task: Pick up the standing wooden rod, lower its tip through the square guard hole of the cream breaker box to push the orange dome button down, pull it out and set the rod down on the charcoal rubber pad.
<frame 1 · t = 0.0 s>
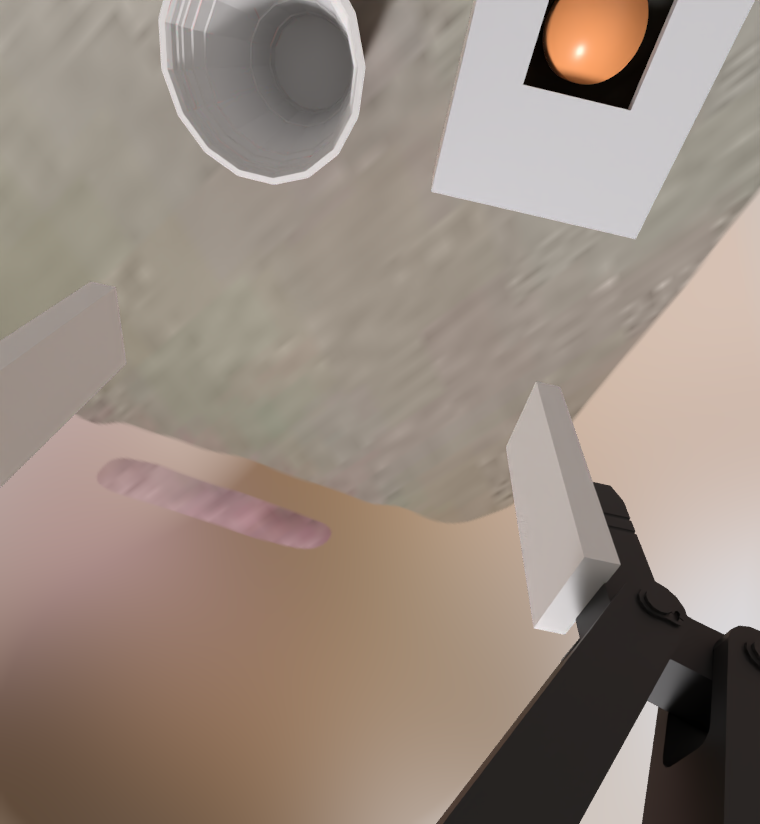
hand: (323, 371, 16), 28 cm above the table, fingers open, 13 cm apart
plastic cup: (310, 63, 35), on the table
orange dome button: (592, 29, 29), point 4 cm above the table, slide at 0.0 cm
breaker box: (578, 31, 32), on the table
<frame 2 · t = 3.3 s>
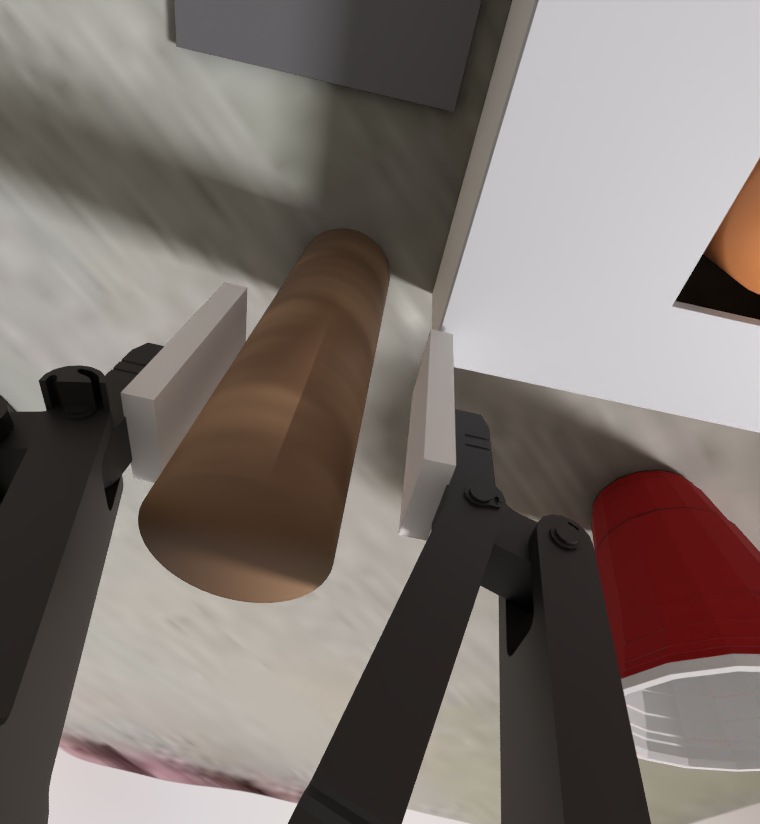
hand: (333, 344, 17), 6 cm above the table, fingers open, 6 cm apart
plastic cup: (639, 505, 29), on the table
wooden rod: (345, 274, 22), on the table
breaker box: (740, 178, 19), on the table
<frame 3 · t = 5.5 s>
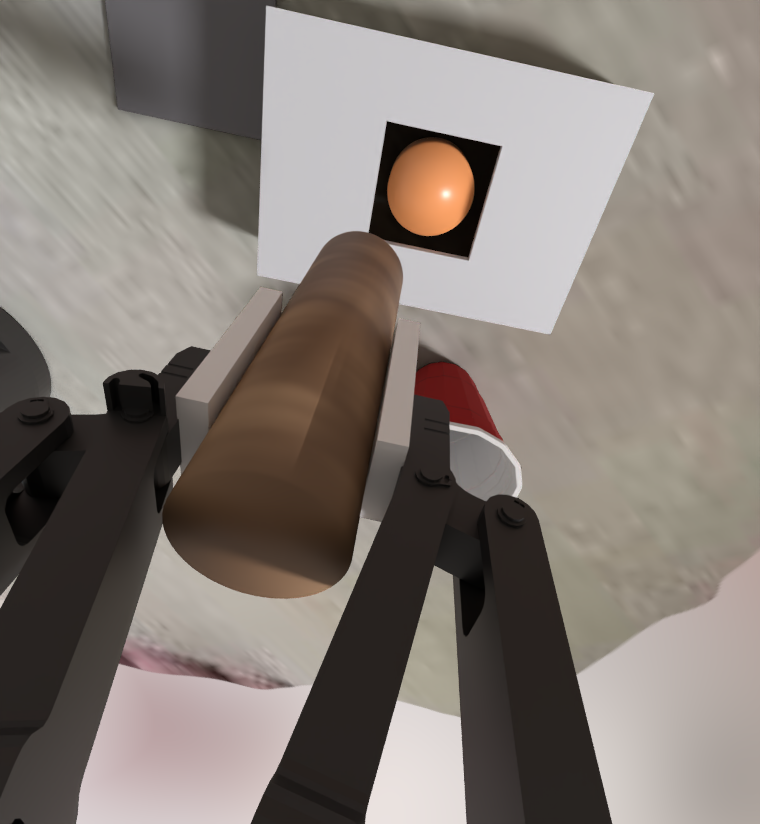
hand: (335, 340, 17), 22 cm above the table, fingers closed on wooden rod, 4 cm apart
plastic cup: (439, 389, 44), on the table
wooden rod: (358, 276, 22), point 16 cm above the table, touching gripper
orange dome button: (430, 187, 31), point 4 cm above the table, slide at 0.0 cm
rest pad: (192, 32, 30), on the table
breaker box: (430, 175, 34), on the table
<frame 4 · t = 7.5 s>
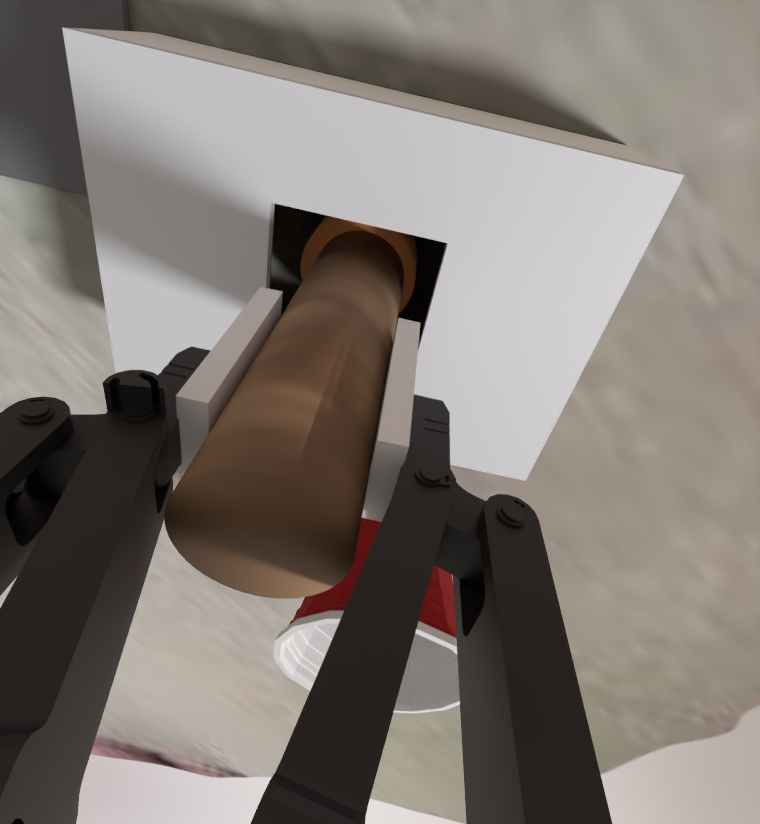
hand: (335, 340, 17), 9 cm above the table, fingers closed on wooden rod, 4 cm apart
plastic cup: (393, 503, 35), on the table
wooden rod: (359, 276, 22), point 3 cm above the table, touching gripper, orange dome button
orange dome button: (361, 265, 23), point 2 cm above the table, slide at 2.2 cm, touching wooden rod
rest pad: (17, 57, 21), on the table
breaker box: (365, 255, 25), on the table
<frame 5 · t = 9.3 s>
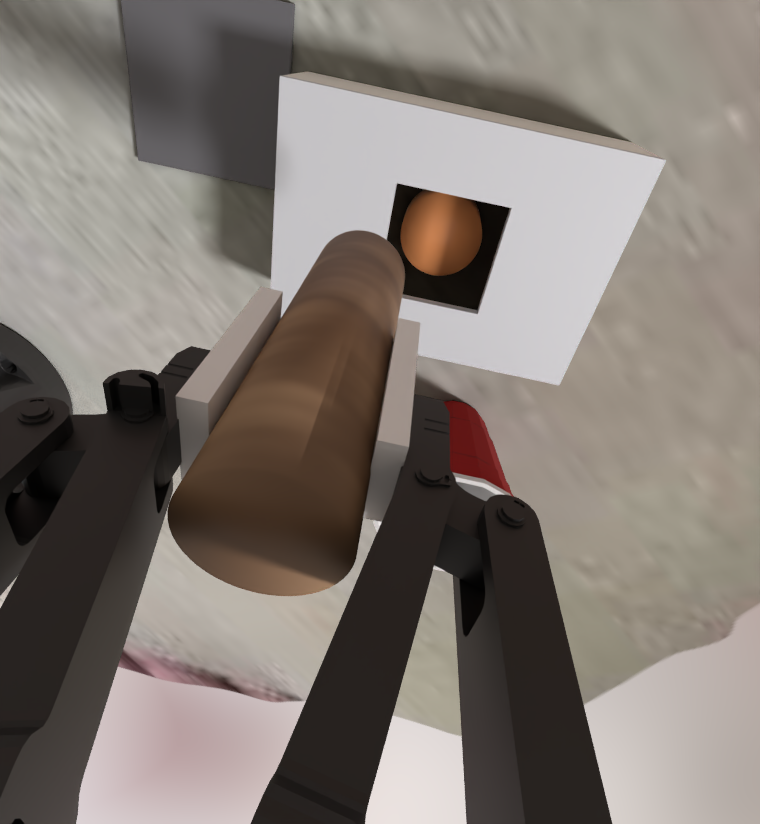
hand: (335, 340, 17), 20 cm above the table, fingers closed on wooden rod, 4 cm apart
plastic cup: (449, 426, 45), on the table
wooden rod: (360, 275, 22), point 14 cm above the table, touching gripper
orange dome button: (441, 230, 33), point 2 cm above the table, slide at 2.2 cm
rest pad: (210, 89, 31), on the table
breaker box: (441, 224, 34), on the table
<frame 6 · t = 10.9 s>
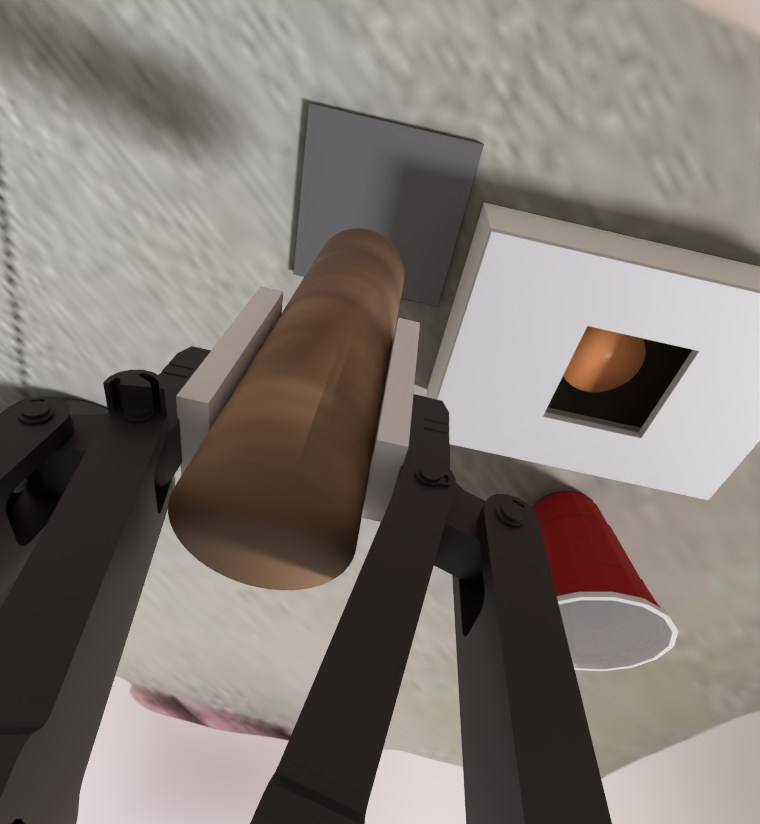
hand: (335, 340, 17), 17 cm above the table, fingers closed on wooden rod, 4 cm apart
plastic cup: (561, 513, 45), on the table
wooden rod: (360, 273, 22), point 11 cm above the table, touching gripper
orange dome button: (597, 349, 33), point 2 cm above the table, slide at 2.2 cm
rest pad: (380, 213, 31), on the table
breaker box: (591, 339, 35), on the table
when the fingers open (7 cm above the table, at t = 13.3 s): wooden rod stays where it is, resting on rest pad.
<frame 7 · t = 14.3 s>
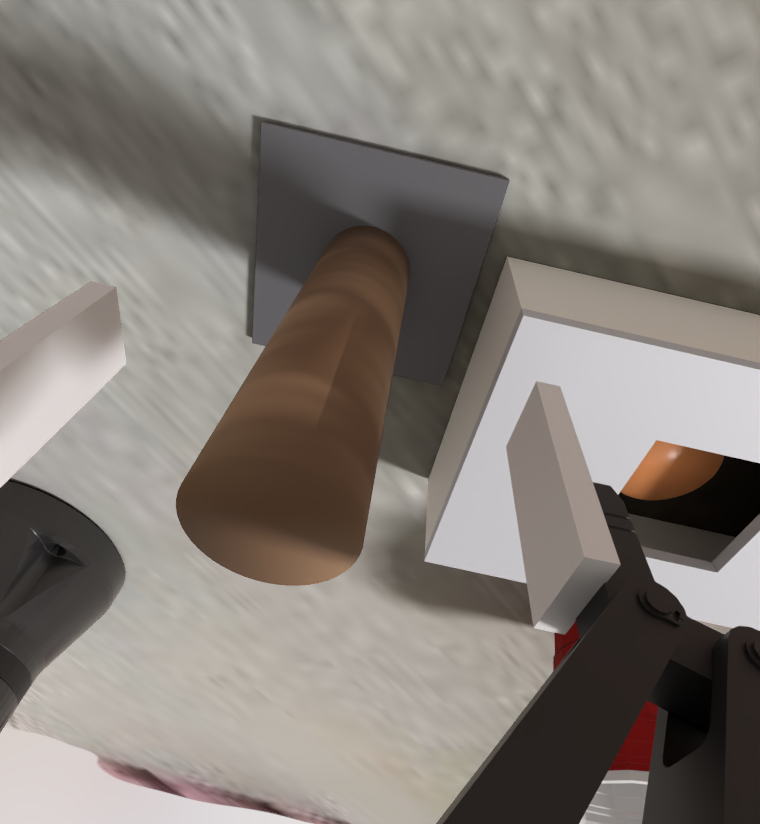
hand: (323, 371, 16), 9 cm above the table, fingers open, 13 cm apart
plastic cup: (592, 615, 37), on the table
wooden rod: (365, 271, 22), resting on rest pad
orange dome button: (655, 445, 25), point 2 cm above the table, slide at 2.2 cm
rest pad: (365, 269, 23), on the table
breaker box: (645, 427, 26), on the table
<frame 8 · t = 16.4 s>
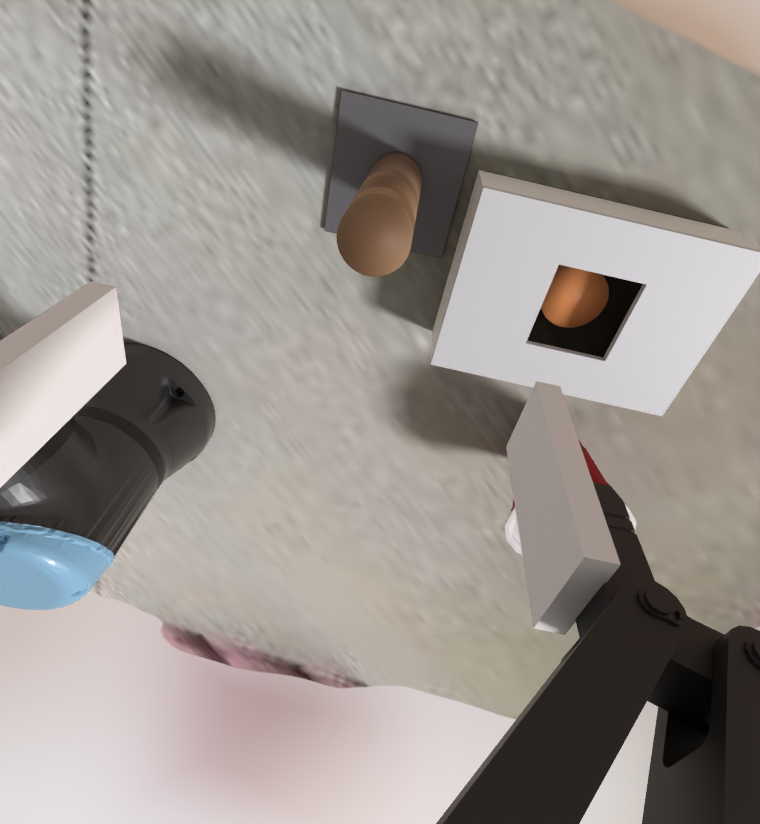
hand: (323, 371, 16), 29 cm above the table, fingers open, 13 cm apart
plastic cup: (546, 444, 53), on the table
wooden rod: (396, 180, 38), resting on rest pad
orange dome button: (571, 292, 41), point 2 cm above the table, slide at 2.2 cm
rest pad: (396, 179, 39), on the table
breaker box: (567, 285, 42), on the table
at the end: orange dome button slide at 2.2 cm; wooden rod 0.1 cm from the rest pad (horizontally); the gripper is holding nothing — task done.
